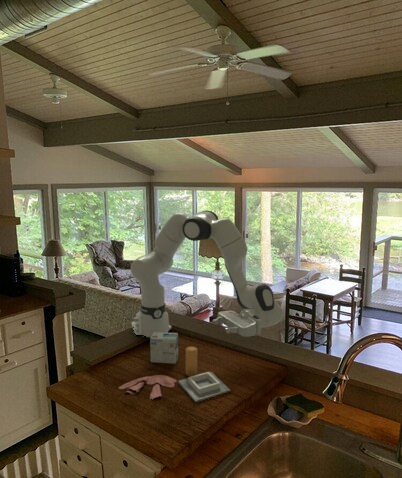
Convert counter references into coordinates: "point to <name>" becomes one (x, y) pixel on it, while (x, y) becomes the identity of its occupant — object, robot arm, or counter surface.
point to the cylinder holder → (203, 386)
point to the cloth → (150, 380)
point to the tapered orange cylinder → (191, 361)
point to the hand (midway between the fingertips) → (219, 326)
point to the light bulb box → (164, 347)
